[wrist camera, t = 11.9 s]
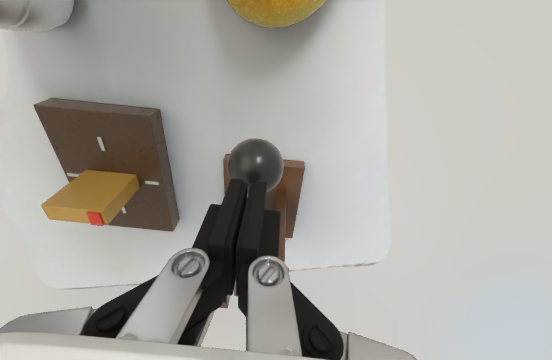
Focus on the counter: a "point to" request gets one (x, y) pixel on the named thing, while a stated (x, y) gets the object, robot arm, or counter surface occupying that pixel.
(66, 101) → the plate
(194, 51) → the counter surface
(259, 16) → the bread roll
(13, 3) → the plastic bottle
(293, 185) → the handle bracket
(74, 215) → the lock knob
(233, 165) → the door lever
